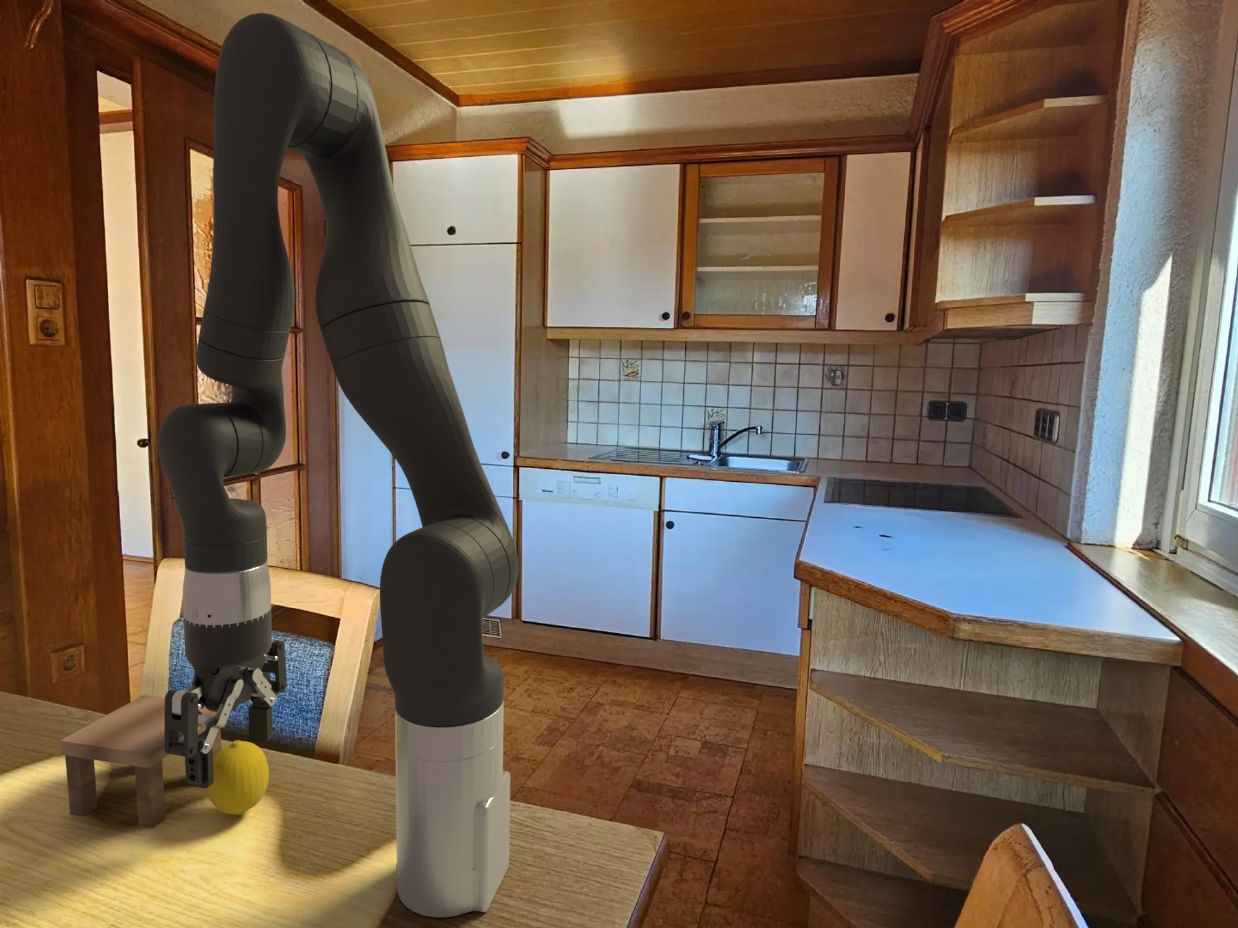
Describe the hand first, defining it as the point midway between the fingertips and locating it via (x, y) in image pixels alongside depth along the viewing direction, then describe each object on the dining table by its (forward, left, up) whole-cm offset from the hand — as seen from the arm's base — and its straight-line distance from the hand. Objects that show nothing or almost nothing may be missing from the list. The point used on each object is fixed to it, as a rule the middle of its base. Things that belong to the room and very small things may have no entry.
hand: (232, 761), depth 73 cm
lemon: (-1, 0, -6) cm, 6 cm away
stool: (+11, -1, -6) cm, 12 cm away
